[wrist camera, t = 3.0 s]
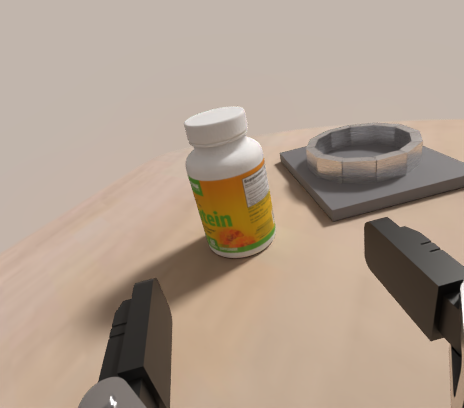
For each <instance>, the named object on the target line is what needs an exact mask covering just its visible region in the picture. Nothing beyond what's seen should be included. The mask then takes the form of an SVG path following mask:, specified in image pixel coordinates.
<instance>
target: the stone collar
mask: <svg viewBox="0 0 464 408" xmlns="http://www.w3.org/2000/svg"><path fill="white" fill-rule="evenodd" d="M367 144H377V145H385V146H393V147H396V148H398V149H400V150H397V151H394V152H390V153H386V154H382V155H378V156H374V157H357V158H342V157H336V156H330V155H325V154H327V153H329V152H330V151H332V150H336V149H340V148H344V147H347V146H351V145H367ZM422 145H423V140H422V137H421V134H420V131H418V130H415V129H413V128H410V127H407V126H404V125H401V124H388V123H366V124H355V125H347V126H343V127H339V128H336V129H332V130H328V131H325V132H323V133H321V134H319V135H317V136H315V137H314V138H312V139H310V141H309V143H308V145H307V147H306V154H307V164H308V169H309V170H311V171H312V172H313V173H314V174H315V175H316V176H317V177H318V178H321V179H325V180H329V181H334V182H338V183H342V184H358V183H379V182H382V181H386V180H390V179H394V178H398V177H402V176H405V175H407V174H408V173H410V172H411V171H412V170H413V169H415V168H416V167H417V166H418V165H420V164H421V157H422Z"/></svg>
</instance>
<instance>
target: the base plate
mask: <svg viewBox="0 0 464 408" xmlns="http://www.w3.org/2000/svg"><path fill="white" fill-rule="evenodd" d="M306 147H307V146H306ZM306 147H302V148H298V149H294V150H290V151H286V152H282V153H280V158H281V162H282V163H283V164H284V165H285V166H286V168H287V169H288V170H289V171H290V172H291V173H292V175H293V176H294V177H295V178H296V179H297V180H298V181H299V183H300V184H301V185H302V186H303V187H304V188H305V190H306V191H307V192H308V193H309V194H310V195H311V196H312V198H313V199H314V200H315V201H316V202H317V203H318V205H319V206H320V207H321V208H322V209H323V210H324V211H325V213H326V214H327V215H328V216H329V217H330V218H331V219H332V221H336V220H340V219H344V218H348V217H351V216H355V215H359V214H363V213H367V212H370V211H374V210H378V209H382V208H386V207H389V206H393V205H397V204H401V203H405V202H408V201H412V200H416V199H420V198H424V197H427V196H431V195H435V194H439V193H442V192H446V191H450V190H454V189H458V188H461V187H464V163H463V162H461V161H458V160H456V159H454V158H451V157H449V156H446V155H444V154H442V153H439V152H437V151H434V150H432V149H429V148H427V147H425V146H422V157H421V164H420V165H418V166H417V167H416V168H415V169H413V170H412V171H411V172H410V173H408V174H407V175H405V176H402V177H398V178H394V179H390V180H386V181H382V182H379V183H358V184H342V183H338V182H334V181H329V180H325V179H321V178H318V177H317V176H316V175H315V174H314V173H313V172H312V171H311V170H309V169H308V164H307V154H306ZM397 150H400V149H398V148H396V147H393V146H385V145H377V144H367V145H351V146H347V147H344V148H340V149H336V150H332V151H330V152H329V153H327V154H325V155H330V156H336V157H342V158H357V157H374V156H378V155H382V154H386V153H390V152H394V151H397Z"/></svg>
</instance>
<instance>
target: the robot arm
mask: <svg viewBox="0 0 464 408" xmlns="http://www.w3.org/2000/svg"><path fill="white" fill-rule="evenodd" d="M364 245H365V259H366V263H367V265H368V267H369V269H370V270H371V271H372V273H373V274H374V275H375V276H376V277H377V279H378V280H379V281H380V282H381V283H382V284H383V286H384V287H385V288H386V289H387V290H388V292H389V293H390V294H391V295H392V296H393V297H394V299H395V300H396V301H397V302H398V303H399V304H400V306H401V307H402V308H403V309H404V310H405V312H406V313H407V314H408V315H409V316H410V317H411V319H412V320H413V321H414V322H415V323H416V325H417V326H418V327H419V328H420V329H421V330H422V332H423V333H424V334H425V335H426V336H427V337H428V339H429V340H430V341H434V340H437V339H441V338H445V339H446V340H447V341H448V342H449V343H450V346H449V367H450V391H451V408H464V266H463V265H461V264H460V263H459V262H457V261H456V260H455V259H454V258H452V257H451V256H450V255H448V254H447V253H446V252H445V251H443V250H440V248H439V247H438V246H437V245H436V244H434V243H431V241H430V240H429V239H428V238H427V237H425V236H424V235H423V234H421V233H420V232H418V231H415V230H413V229H410V228H408V227H405V226H404V227H399V226H398V225H397V224H396V223H394V222H393V221H392V220H391V219H389V218H388V217H384V218H381V219H377V220H373V221H369V222H366V223H365V226H364ZM109 337H110V339H109V340H108V344H107V348H106V352H105V356H104V360H103V364H102V369H101V373H100V377H99V381H98V383H97V384H95V385H94V386H93V387H92V388H91V389H90V390H89V391H88V392H87V393H86V394H85V396H84V397H83V398H82V400H81V402H80V404H79V406H78V408H170V385H171V351H172V316H171V311H170V308H169V305H168V303H167V301H166V298H165V296H164V294H163V291H162V289H161V287H160V284H159V282H158V280H157V279H156V278H153V279H149V280H145V281H141V282H138V283H135V285H134V288H133V293H132V299H129V300H125V301H123V302H122V304H121V305H120V307H119V308H118V310H117V311H116V313H115V316H114V320H113V324H112V329H111V332H110V336H109Z"/></svg>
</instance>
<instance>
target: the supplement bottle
mask: <svg viewBox="0 0 464 408" xmlns="http://www.w3.org/2000/svg"><path fill="white" fill-rule="evenodd" d="M184 126H185V130H186V134H187V137H188V140H189V144H190V145H192V146H194V150H193V151H192V152H191V153H190V154H189V155H188V157H187V159H186V170H187V174H188V177H189V181H190V184H191V187H192V190H193V194H194V197H195V200H196V204H197V207H198V210H199V214H200V217H201V221H202V224H203V227H204V231H205V235H206V238H207V241H208V244H209V246H210V248H211V249H212V250H213V251H214V252H215V253H216V254H218V255H220V256H223V257H229V258H241V257H247V256H251V255H254V254H256V253H259V252H260V251H262V250H264V249H265V248H266V247H267V246H268V245H269V244H270V243H271V242H272V241H273V239H274V237H275V232H276V229H275V221H274V215H273V209H272V203H271V197H270V191H269V185H268V179H267V173H266V167H265V161H264V155H263V151H262V148H261V146H260V144H259V143H258V142H257V141H256V140H254V139H252V138H249V137H246V135H245V134H246V133H247V131H248V128H247V127H248V124H247V119H246V115H245V111H244V109H243V108H242V107H223V108H218V109H213V110H209V111H205V112H202V113H200V114H197V115H194V116H192V117H190V118H189V119H187V120H186V121H185V122H184Z"/></svg>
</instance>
